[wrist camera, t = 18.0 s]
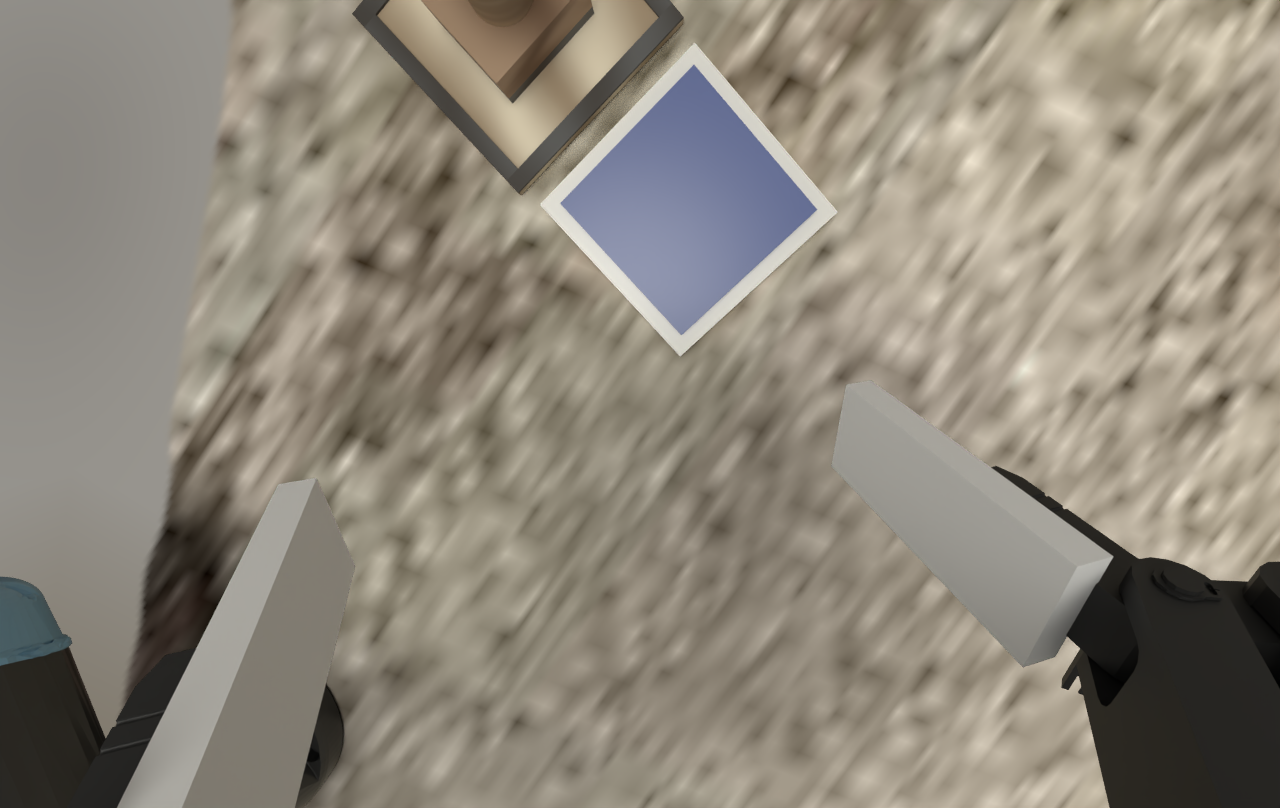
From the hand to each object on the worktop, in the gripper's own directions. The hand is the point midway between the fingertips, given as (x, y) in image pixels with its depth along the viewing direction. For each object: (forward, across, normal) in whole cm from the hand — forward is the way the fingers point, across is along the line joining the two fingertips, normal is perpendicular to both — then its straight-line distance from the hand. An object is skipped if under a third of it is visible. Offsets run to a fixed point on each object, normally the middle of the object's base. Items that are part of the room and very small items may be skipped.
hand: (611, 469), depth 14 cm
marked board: (+29, +2, +12) cm, 32 cm away
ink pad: (+23, +10, +1) cm, 25 cm away
